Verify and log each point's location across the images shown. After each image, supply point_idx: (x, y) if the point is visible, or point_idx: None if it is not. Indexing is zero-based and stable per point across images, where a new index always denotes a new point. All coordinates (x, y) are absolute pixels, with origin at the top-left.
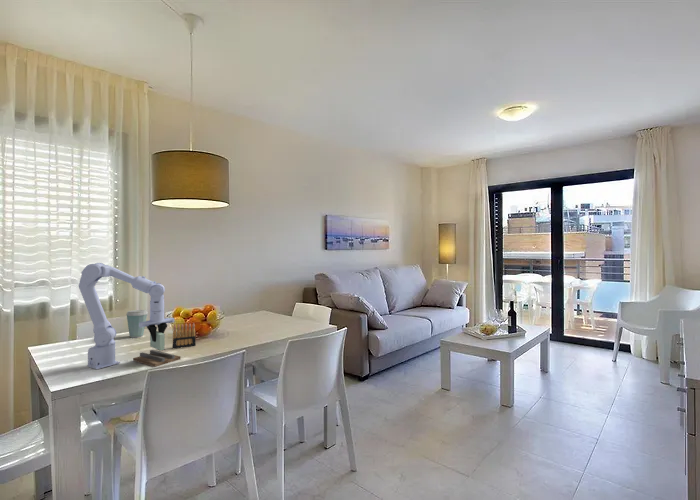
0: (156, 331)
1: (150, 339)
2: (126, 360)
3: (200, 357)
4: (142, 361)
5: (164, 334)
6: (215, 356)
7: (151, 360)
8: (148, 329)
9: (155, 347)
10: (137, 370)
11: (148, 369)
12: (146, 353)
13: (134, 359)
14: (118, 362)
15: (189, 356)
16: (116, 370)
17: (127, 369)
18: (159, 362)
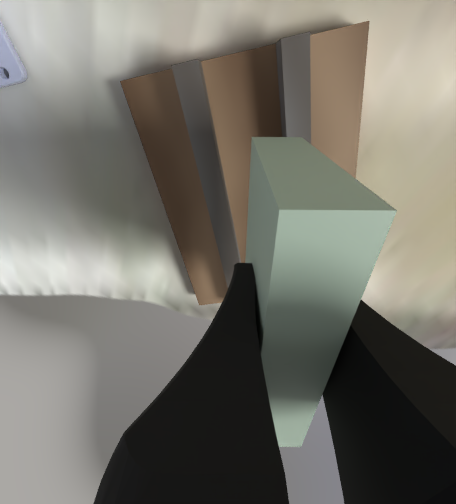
0: (333, 320)
1: (257, 166)
2: (79, 12)
3: (407, 313)
4: (165, 203)
5: (298, 440)
6: (445, 339)
7: (206, 243)
8: (166, 397)
9: (246, 258)
10: (122, 285)
11: (165, 303)
12: (211, 137)
13: (130, 102)
14: (12, 76)
15: (400, 268)
16: (25, 218)
17: (81, 242)
18: (222, 298)
